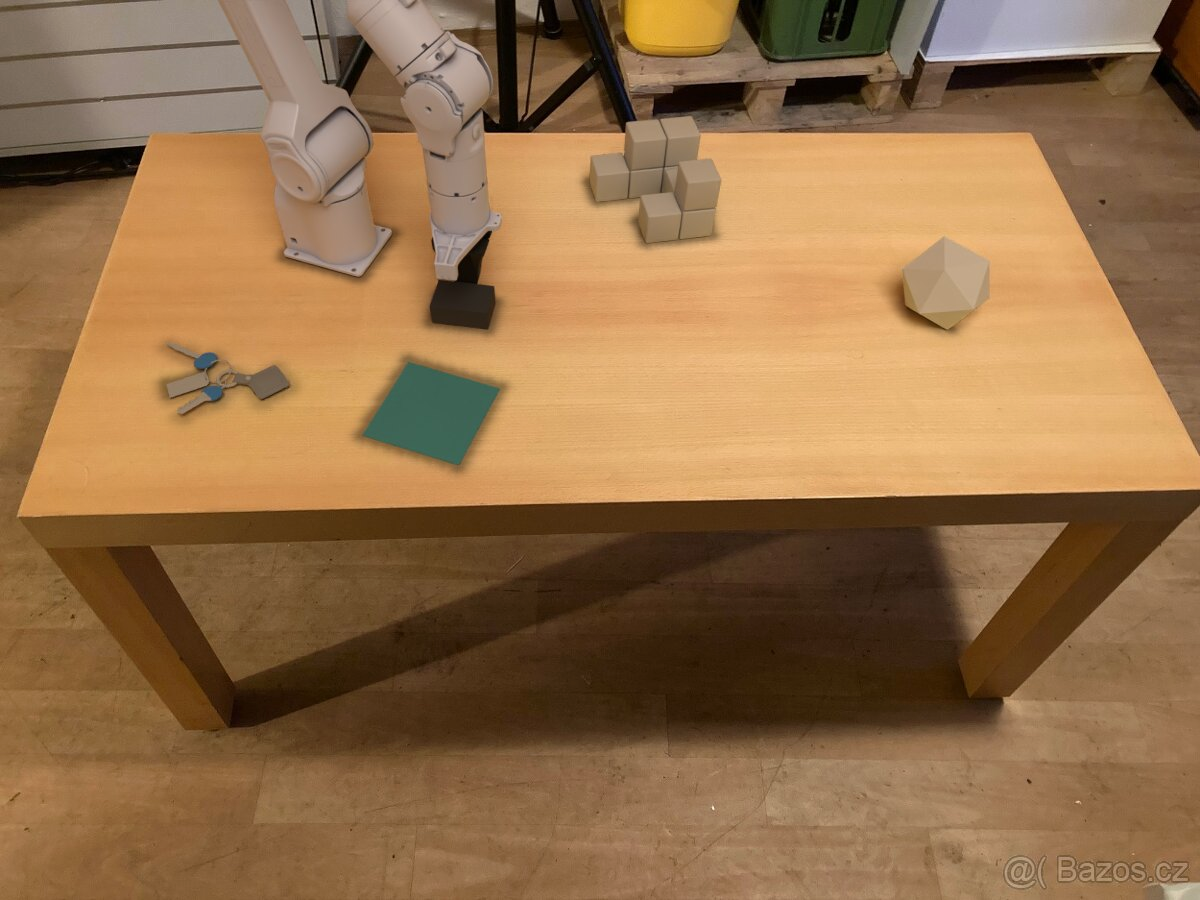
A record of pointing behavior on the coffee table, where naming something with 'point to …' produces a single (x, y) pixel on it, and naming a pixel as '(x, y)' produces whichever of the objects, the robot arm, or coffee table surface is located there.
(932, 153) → the coffee table surface
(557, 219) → the coffee table surface
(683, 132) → the grey cube cluster
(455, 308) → the eraser
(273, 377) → the key chain
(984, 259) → the die
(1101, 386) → the coffee table surface
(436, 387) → the mat
